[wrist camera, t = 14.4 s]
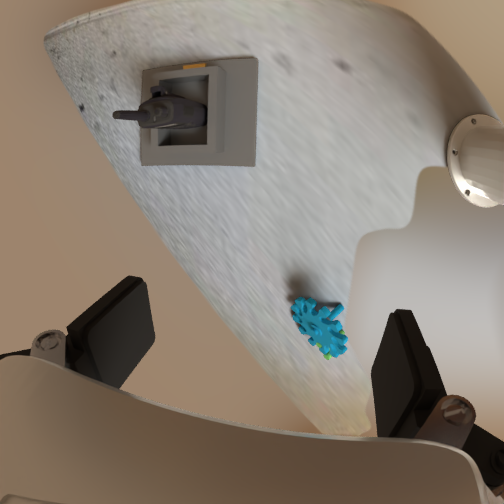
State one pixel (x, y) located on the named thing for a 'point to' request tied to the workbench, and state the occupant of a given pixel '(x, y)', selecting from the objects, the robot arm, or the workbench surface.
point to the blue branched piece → (320, 326)
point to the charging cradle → (219, 114)
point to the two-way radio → (167, 111)
